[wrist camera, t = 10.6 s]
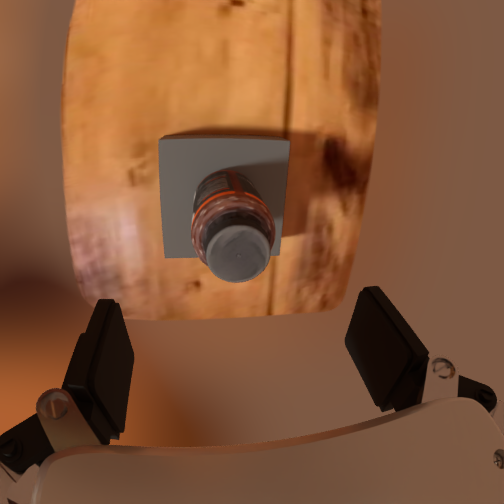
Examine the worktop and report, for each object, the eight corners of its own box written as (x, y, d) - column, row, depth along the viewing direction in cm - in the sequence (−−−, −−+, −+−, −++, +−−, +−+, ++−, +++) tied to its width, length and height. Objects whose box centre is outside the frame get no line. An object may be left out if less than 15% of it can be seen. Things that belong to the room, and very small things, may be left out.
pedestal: (164, 135, 27) (158, 139, 24) (279, 136, 29) (290, 141, 26) (168, 241, 33) (164, 258, 29) (271, 239, 35) (279, 255, 31)
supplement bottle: (182, 208, 27) (169, 269, 17) (216, 156, 26) (224, 188, 16) (233, 238, 30) (249, 309, 20) (268, 190, 28) (305, 241, 18)
